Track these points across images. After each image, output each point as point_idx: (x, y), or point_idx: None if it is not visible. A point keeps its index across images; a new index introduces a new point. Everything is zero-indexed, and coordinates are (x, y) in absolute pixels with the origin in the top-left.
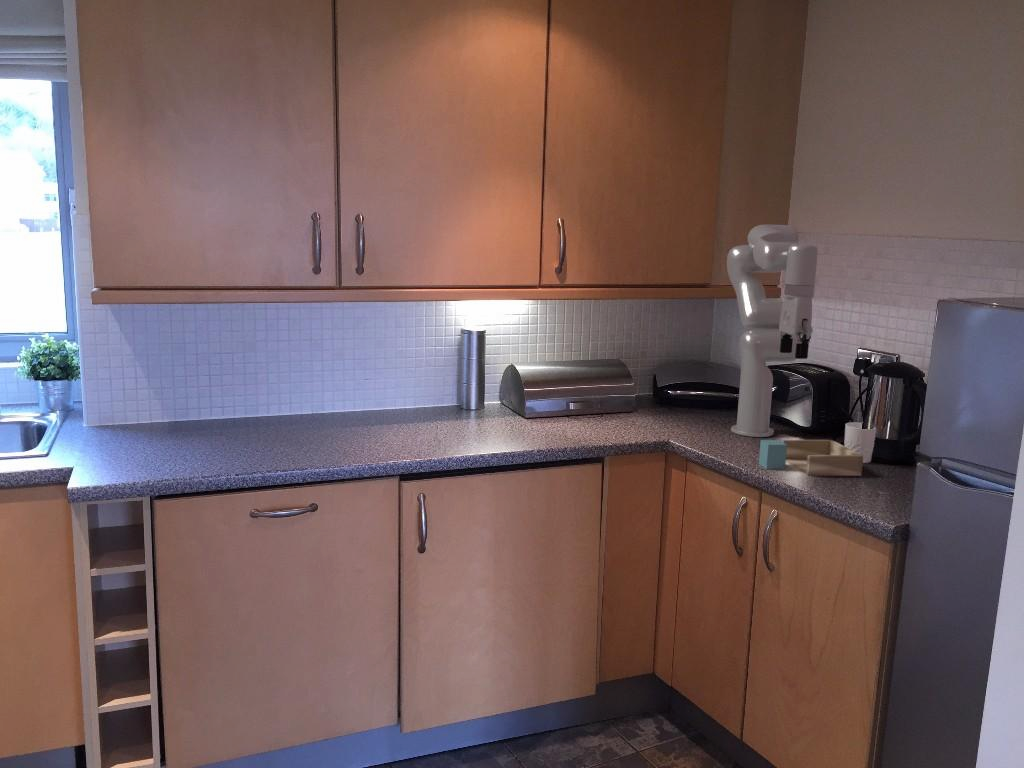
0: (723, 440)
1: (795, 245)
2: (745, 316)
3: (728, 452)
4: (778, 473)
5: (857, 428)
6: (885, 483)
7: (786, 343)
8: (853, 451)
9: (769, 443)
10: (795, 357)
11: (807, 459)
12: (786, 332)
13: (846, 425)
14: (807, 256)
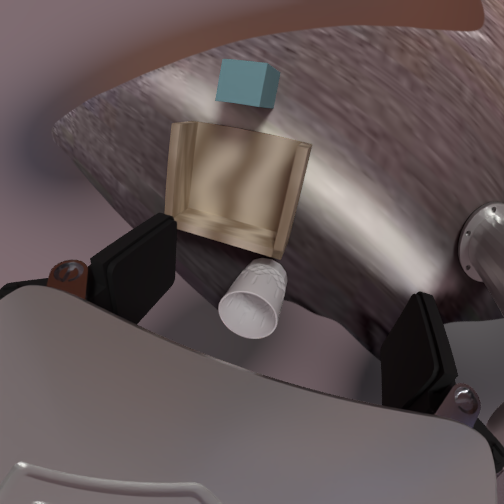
0: (472, 138)
1: None
2: None
3: (388, 75)
4: None
5: (227, 293)
6: None
7: (406, 367)
8: (193, 232)
9: (233, 66)
10: (166, 214)
11: (183, 123)
12: (193, 355)
13: (255, 293)
14: None
